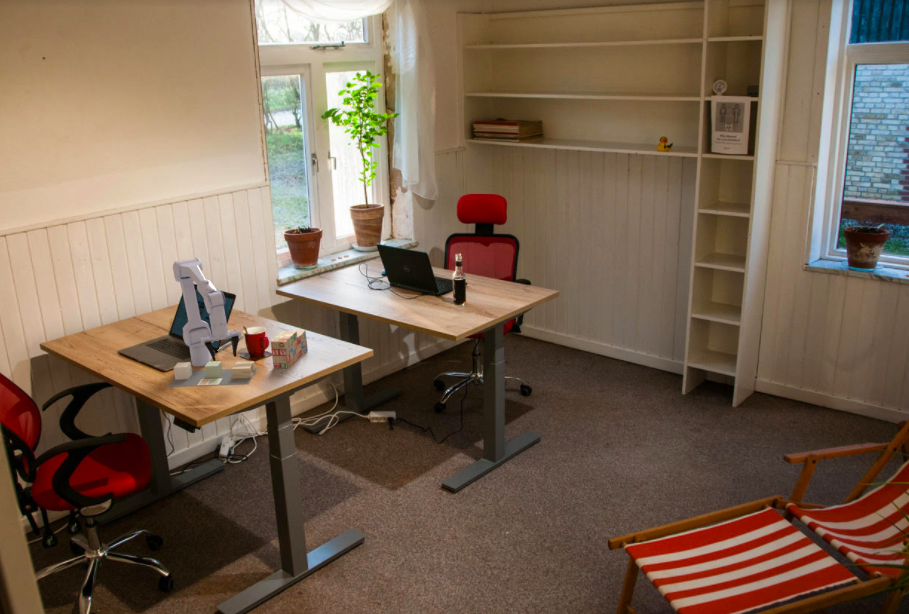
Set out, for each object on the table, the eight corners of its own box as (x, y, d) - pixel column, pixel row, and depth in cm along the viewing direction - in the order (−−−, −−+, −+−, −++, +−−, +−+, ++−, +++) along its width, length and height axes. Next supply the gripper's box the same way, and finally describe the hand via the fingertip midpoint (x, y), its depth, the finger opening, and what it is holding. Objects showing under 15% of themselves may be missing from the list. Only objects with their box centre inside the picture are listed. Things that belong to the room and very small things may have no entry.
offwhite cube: (179, 374, 305) (177, 362, 304) (192, 374, 305) (190, 362, 304) (175, 379, 300) (173, 367, 299) (188, 379, 300) (186, 367, 299)
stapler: (217, 342, 328) (198, 340, 332) (219, 353, 330) (199, 350, 333) (242, 328, 344) (224, 326, 348) (244, 338, 346) (225, 336, 349)
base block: (237, 371, 306) (236, 362, 305) (255, 370, 306) (254, 361, 305) (233, 378, 299) (231, 368, 298) (251, 377, 299) (249, 368, 298)
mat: (180, 372, 309) (180, 370, 309) (258, 369, 309) (258, 367, 309) (166, 388, 294) (166, 387, 294) (248, 386, 294) (248, 384, 294)
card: (201, 379, 299) (201, 378, 299) (222, 379, 299) (222, 378, 299) (197, 385, 294) (197, 384, 294) (218, 385, 294) (218, 384, 294)
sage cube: (210, 373, 305) (208, 361, 304) (223, 372, 305) (221, 361, 304) (206, 378, 300) (204, 366, 299) (219, 378, 300) (217, 366, 299)
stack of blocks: (294, 350, 329) (291, 322, 325) (308, 350, 328) (305, 323, 324) (273, 369, 309) (270, 340, 305) (288, 370, 308) (285, 341, 304)
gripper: (200, 329, 283) (206, 365, 287) (240, 321, 289) (246, 356, 293) (197, 325, 290) (203, 360, 293) (236, 318, 296) (242, 352, 299)
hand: (224, 358), depth 293 cm, fingers open, 7 cm apart
